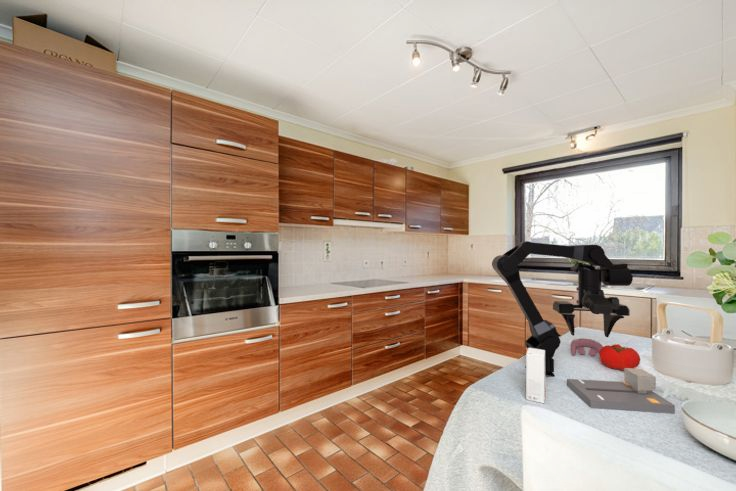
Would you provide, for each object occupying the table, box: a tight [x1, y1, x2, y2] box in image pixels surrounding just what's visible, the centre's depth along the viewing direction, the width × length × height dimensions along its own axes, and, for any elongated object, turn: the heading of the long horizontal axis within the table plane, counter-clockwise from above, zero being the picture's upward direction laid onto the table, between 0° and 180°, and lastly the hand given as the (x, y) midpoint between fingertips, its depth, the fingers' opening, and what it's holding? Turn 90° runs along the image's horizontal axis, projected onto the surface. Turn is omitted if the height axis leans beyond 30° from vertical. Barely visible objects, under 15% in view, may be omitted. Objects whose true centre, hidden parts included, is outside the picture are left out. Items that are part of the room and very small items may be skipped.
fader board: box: [566, 378, 676, 415], centre depth 80 cm, size 18×12×2 cm, turn 81°
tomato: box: [598, 343, 641, 371], centre depth 100 cm, size 10×11×6 cm
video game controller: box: [570, 337, 604, 357], centre depth 111 cm, size 10×5×7 cm, turn 59°
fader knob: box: [623, 368, 657, 394], centre depth 79 cm, size 4×5×5 cm
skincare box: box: [525, 348, 546, 404], centre depth 81 cm, size 6×4×12 cm
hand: (589, 336), depth 95 cm, fingers open, 9 cm apart
